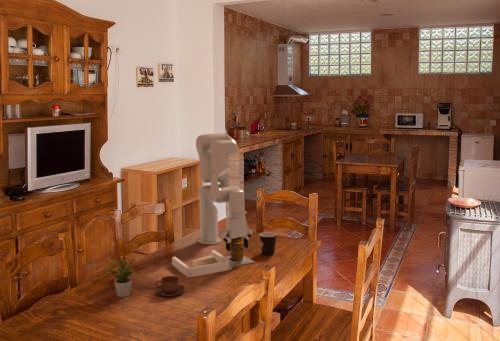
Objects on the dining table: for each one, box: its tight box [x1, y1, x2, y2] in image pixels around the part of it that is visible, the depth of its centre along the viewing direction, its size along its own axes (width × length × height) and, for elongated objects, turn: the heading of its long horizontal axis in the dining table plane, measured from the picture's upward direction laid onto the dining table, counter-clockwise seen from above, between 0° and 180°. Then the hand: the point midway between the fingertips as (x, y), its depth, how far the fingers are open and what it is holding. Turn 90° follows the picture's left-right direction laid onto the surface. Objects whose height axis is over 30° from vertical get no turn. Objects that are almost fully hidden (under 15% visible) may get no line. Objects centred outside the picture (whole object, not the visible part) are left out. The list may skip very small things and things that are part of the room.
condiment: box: [228, 237, 247, 263], centre depth 264 cm, size 7×8×12 cm
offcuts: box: [190, 255, 218, 267], centre depth 253 cm, size 5×14×5 cm, turn 135°
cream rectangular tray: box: [171, 249, 233, 279], centre depth 256 cm, size 20×22×4 cm
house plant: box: [104, 254, 140, 298], centre depth 223 cm, size 14×14×16 cm
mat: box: [225, 254, 256, 268], centre depth 265 cm, size 14×12×1 cm
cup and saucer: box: [155, 275, 185, 297], centre depth 225 cm, size 12×12×6 cm
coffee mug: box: [259, 231, 277, 256], centre depth 278 cm, size 12×9×10 cm
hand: (237, 248), depth 264 cm, fingers open, 9 cm apart
